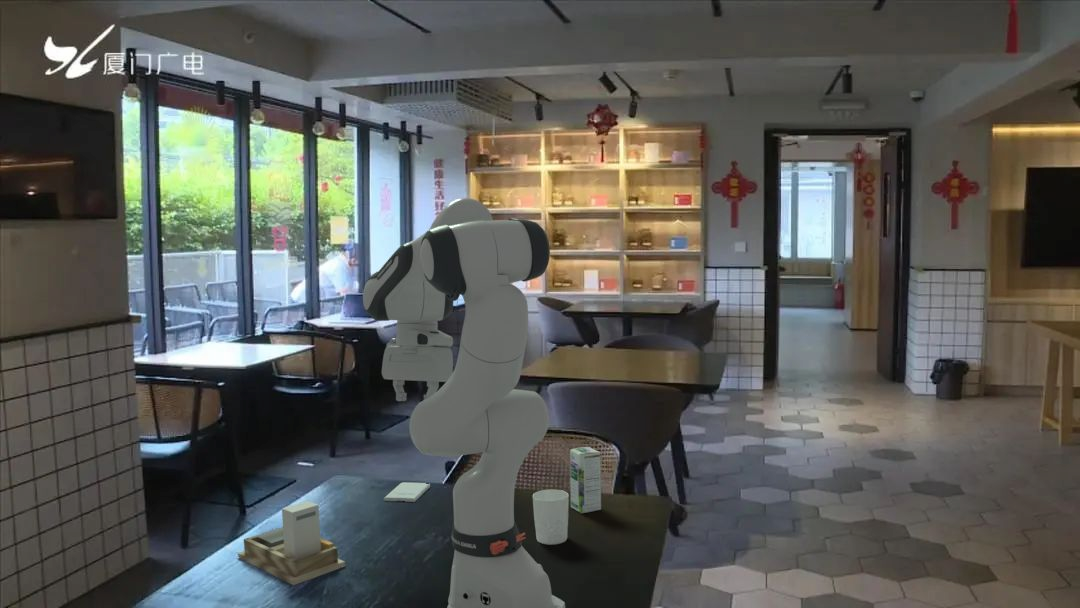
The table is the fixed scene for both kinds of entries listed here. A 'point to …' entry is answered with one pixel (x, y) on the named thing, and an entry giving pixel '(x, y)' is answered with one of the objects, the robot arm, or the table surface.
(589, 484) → the syrup box
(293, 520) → the white carton
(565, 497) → the white cup
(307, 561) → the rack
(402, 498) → the external hard drive
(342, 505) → the table surface
